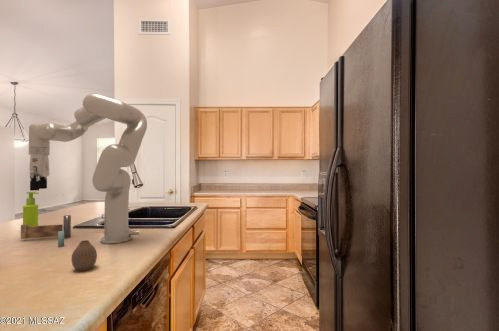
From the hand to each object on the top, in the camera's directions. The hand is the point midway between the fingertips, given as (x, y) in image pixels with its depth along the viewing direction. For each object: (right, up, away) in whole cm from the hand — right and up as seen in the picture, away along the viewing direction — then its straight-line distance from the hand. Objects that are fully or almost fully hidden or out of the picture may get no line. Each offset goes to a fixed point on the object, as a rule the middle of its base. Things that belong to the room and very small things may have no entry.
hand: (38, 189), depth 123 cm
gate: (+3, -21, -2) cm, 21 cm away
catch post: (+19, -22, -12) cm, 31 cm away
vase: (+43, -22, -37) cm, 61 cm away
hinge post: (+12, -22, +1) cm, 25 cm away
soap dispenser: (-13, -22, +12) cm, 28 cm away
